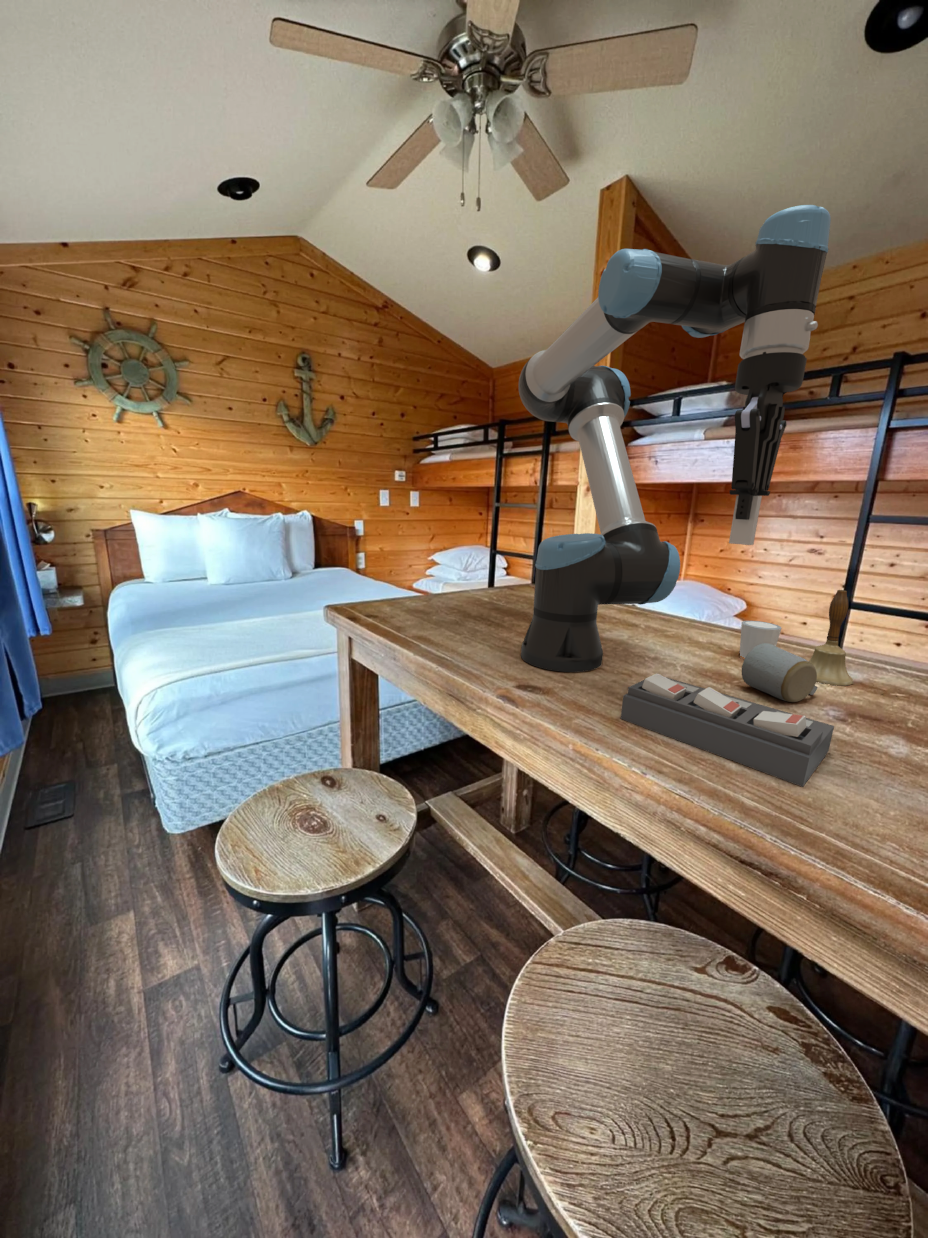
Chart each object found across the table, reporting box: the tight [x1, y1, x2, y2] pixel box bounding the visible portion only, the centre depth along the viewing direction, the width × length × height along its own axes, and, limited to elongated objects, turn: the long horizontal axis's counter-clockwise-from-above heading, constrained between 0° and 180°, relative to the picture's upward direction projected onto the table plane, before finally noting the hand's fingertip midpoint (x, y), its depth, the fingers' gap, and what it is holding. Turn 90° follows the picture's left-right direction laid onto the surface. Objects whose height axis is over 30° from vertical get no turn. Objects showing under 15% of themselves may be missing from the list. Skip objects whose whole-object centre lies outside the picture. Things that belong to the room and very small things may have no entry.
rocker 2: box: [753, 711, 807, 737], centre depth 58 cm, size 4×4×2 cm
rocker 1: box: [642, 673, 687, 701], centre depth 68 cm, size 4×4×2 cm
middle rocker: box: [694, 686, 742, 718], centre depth 63 cm, size 4×4×2 cm
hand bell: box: [808, 589, 854, 687], centre depth 88 cm, size 8×8×16 cm
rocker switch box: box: [620, 676, 835, 788], centre depth 66 cm, size 22×12×5 cm, turn 43°
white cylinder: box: [739, 620, 782, 658], centre depth 98 cm, size 7×7×7 cm
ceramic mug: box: [740, 643, 818, 703], centre depth 80 cm, size 11×8×8 cm
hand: (741, 543), depth 69 cm, fingers closed
